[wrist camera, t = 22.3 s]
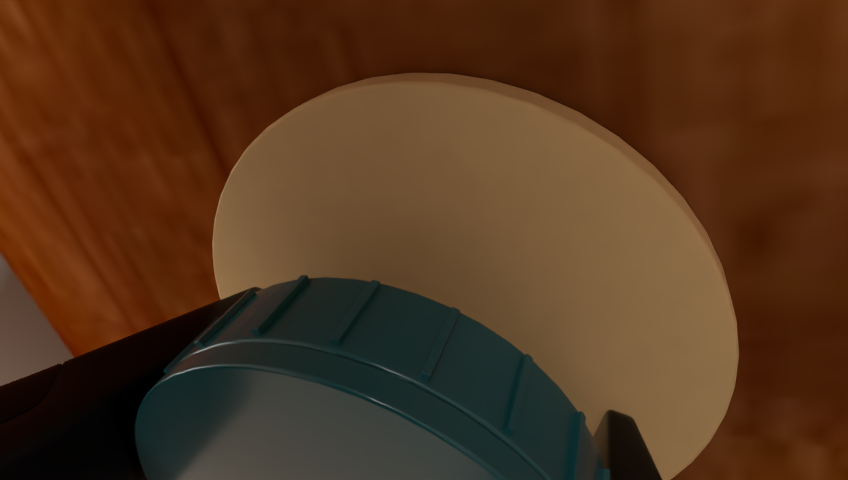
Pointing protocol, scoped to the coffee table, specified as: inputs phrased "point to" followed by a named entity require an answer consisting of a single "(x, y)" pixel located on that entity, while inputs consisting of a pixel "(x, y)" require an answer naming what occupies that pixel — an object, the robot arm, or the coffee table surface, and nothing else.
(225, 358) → the jar lid
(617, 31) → the coffee table surface
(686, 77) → the coffee table surface
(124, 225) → the coffee table surface
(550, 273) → the coaster
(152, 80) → the coffee table surface
